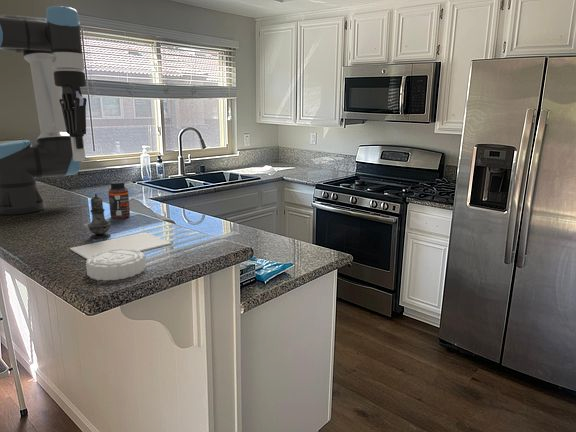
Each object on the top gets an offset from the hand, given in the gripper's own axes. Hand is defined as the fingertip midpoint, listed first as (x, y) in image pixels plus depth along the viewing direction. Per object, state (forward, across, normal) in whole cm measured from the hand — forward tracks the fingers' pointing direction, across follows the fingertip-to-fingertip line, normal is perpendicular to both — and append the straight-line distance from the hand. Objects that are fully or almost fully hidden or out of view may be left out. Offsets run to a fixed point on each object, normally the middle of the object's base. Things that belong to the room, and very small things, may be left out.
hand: (79, 160), depth 122 cm
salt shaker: (+20, +9, 0) cm, 22 cm away
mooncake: (+21, +37, -8) cm, 43 cm away
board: (+20, +22, 0) cm, 30 cm away
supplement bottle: (+20, -9, +14) cm, 26 cm away
